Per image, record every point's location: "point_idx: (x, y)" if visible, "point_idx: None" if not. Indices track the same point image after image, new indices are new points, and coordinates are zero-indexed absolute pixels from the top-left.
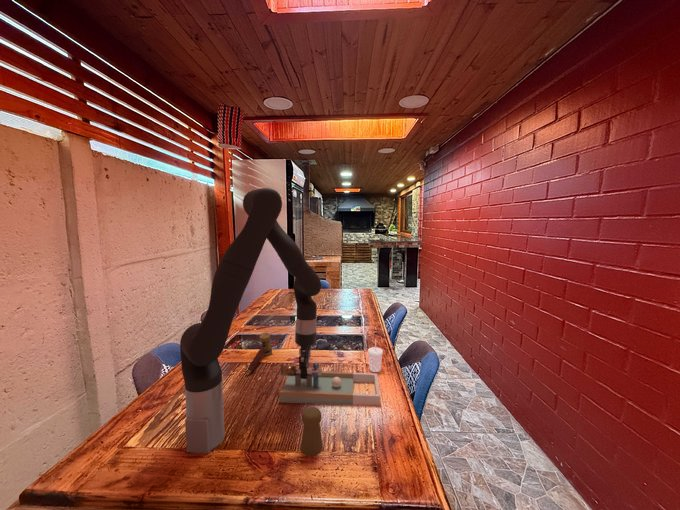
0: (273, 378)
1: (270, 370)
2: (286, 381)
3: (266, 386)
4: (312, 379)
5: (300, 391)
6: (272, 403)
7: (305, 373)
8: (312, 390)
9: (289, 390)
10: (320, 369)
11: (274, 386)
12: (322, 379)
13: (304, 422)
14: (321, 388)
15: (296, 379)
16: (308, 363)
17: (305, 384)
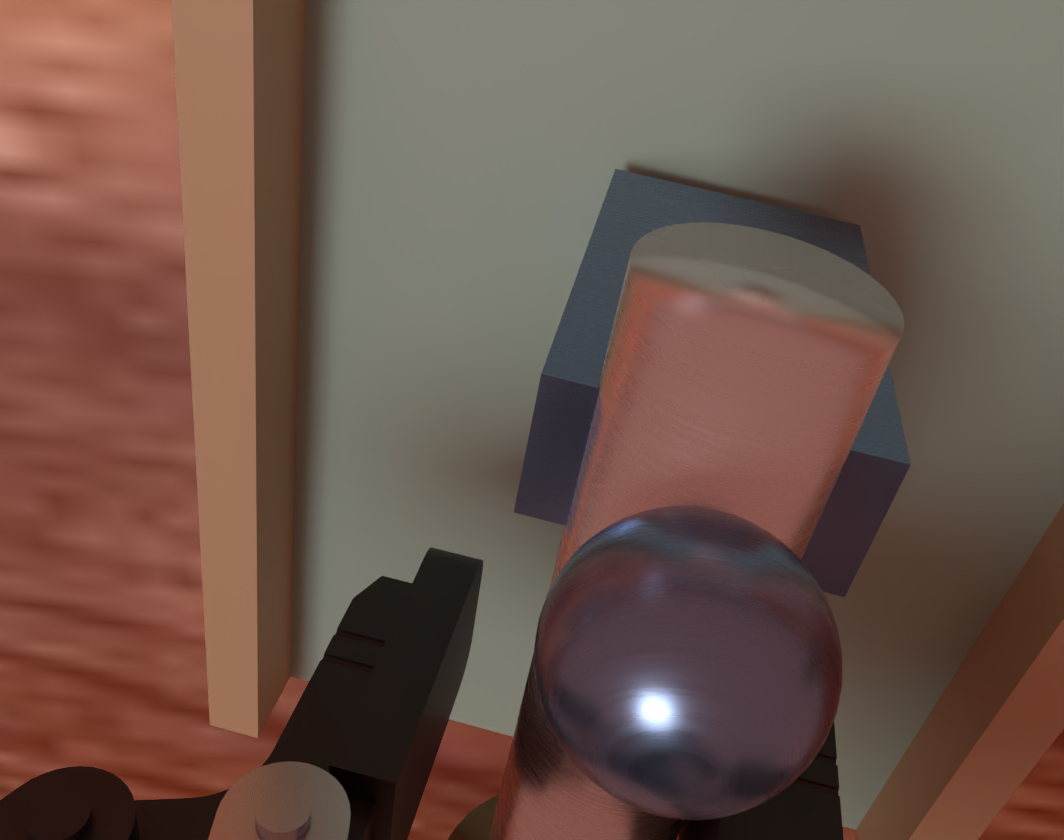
0: (265, 745)
1: (79, 756)
2: (475, 719)
3: (455, 821)
4: (430, 299)
5: (1050, 661)
6: None
7: (810, 797)
8: (903, 345)
9: None
10: (787, 405)
11: (460, 753)
12: (436, 39)
13: None
14: (886, 112)
15: None
16: (369, 776)
17: None
